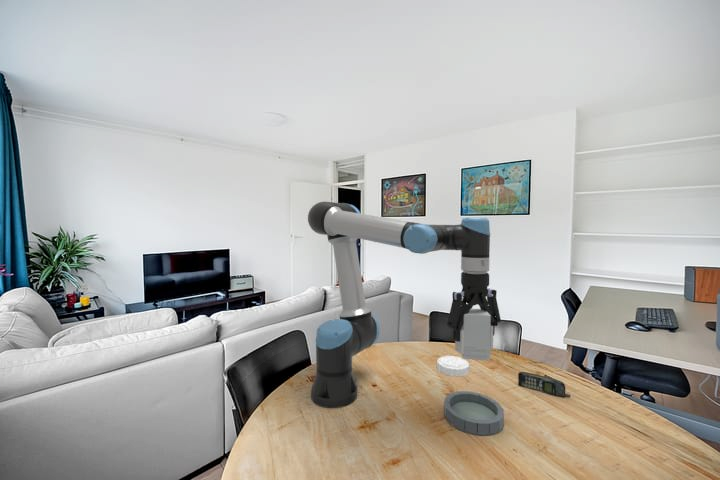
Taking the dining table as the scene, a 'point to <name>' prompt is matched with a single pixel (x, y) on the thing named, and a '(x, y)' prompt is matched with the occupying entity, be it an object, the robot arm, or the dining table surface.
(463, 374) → the mooncake
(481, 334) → the supplement box
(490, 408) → the round tray
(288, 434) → the dining table surface
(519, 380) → the mobile phone
